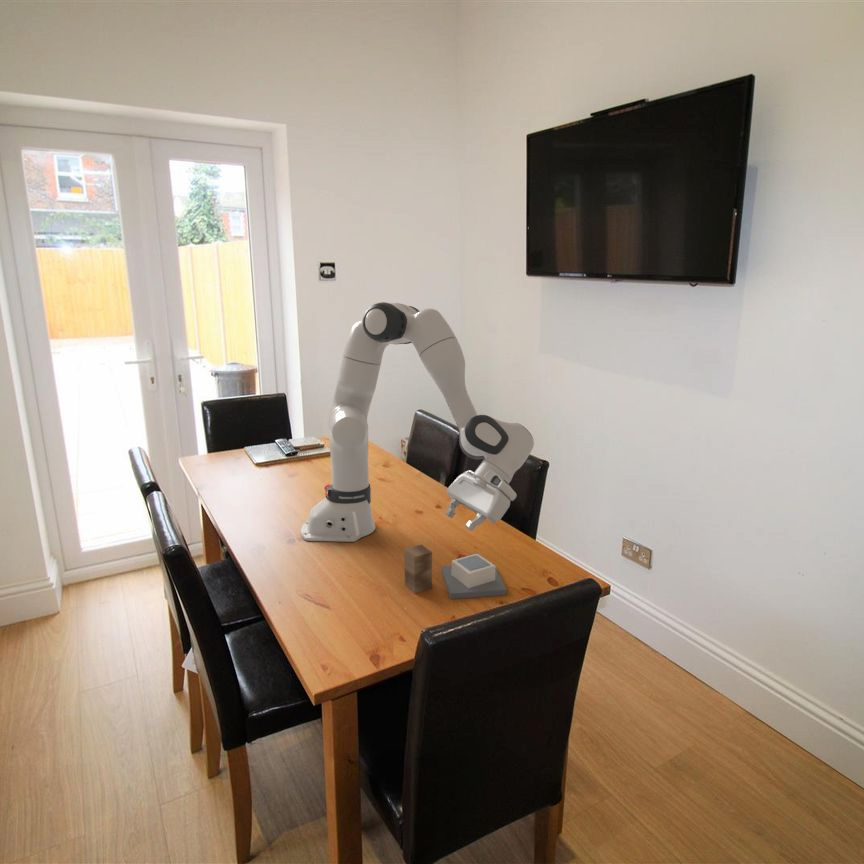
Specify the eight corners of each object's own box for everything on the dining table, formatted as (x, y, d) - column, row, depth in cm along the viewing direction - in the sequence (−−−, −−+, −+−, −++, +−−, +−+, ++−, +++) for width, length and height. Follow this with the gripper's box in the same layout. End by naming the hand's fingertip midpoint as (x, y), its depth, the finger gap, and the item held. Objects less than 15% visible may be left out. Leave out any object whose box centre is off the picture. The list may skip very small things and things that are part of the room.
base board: (450, 599, 149) (450, 577, 148) (441, 571, 163) (441, 551, 161) (506, 594, 151) (507, 573, 150) (493, 568, 164) (493, 548, 163)
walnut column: (414, 593, 152) (414, 556, 149) (404, 585, 156) (404, 548, 153) (432, 588, 154) (431, 552, 152) (422, 580, 158) (421, 544, 156)
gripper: (460, 462, 166) (429, 502, 164) (507, 484, 149) (473, 530, 147) (474, 474, 169) (443, 515, 167) (521, 498, 152) (488, 543, 150)
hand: (458, 522), depth 157 cm, fingers open, 8 cm apart
